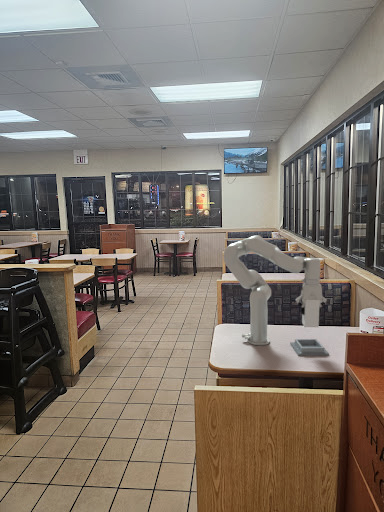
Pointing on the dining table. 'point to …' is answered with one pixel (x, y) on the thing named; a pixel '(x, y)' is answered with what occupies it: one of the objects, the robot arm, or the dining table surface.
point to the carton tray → (308, 347)
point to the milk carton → (311, 313)
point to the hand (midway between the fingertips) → (310, 313)
